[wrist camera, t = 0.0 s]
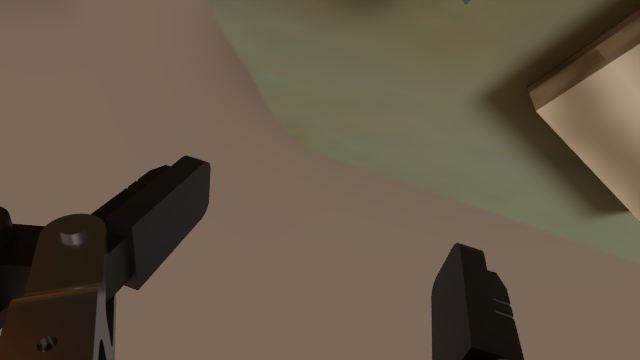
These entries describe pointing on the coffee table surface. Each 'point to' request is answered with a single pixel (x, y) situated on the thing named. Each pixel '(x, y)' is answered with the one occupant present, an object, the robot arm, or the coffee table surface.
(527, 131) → the coffee table surface
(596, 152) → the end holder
